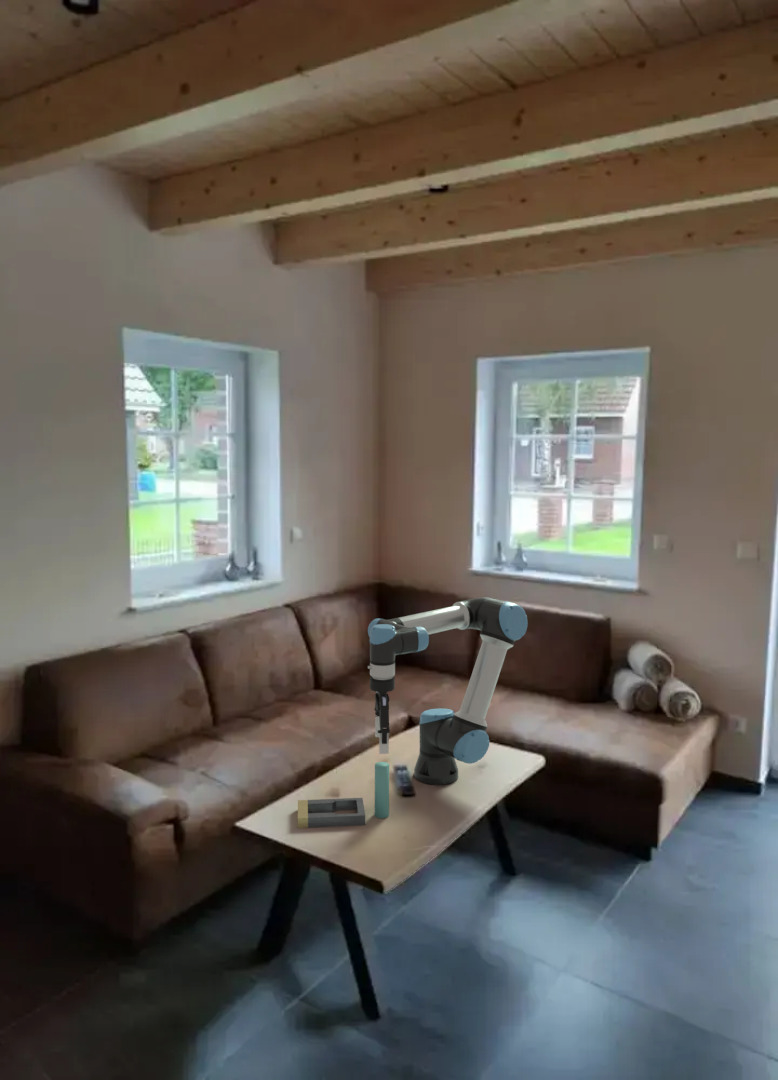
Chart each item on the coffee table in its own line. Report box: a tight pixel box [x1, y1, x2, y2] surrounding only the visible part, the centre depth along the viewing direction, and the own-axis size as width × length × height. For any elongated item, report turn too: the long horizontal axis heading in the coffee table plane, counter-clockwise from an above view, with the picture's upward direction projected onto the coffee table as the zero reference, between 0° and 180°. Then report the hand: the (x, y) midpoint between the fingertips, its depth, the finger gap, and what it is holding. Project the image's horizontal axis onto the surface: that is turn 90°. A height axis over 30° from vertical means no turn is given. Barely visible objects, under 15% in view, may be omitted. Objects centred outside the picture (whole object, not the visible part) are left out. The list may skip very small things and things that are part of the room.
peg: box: [374, 761, 390, 819], centre depth 240 cm, size 4×4×16 cm
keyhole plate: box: [297, 797, 366, 829], centre depth 239 cm, size 20×12×3 cm, turn 96°
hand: (381, 744), depth 238 cm, fingers open, 13 cm apart
